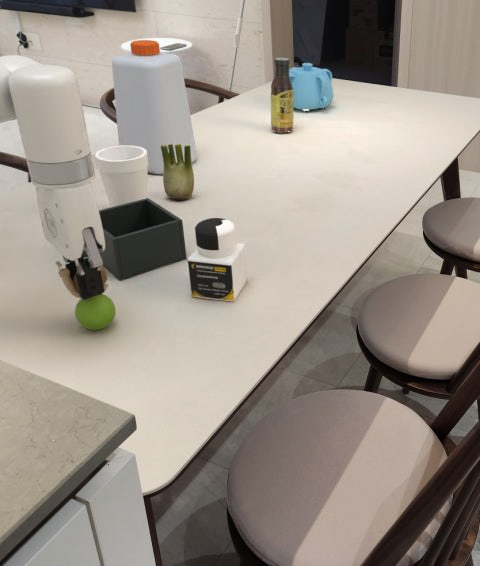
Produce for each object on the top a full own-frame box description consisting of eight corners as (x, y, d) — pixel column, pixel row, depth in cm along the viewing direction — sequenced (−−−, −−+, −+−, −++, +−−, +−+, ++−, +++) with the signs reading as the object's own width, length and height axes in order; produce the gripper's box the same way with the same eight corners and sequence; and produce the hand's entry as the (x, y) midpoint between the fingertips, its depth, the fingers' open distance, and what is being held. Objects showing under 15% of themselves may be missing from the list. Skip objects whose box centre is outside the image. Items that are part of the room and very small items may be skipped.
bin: (119, 280, 106) (112, 239, 102) (88, 253, 113) (80, 214, 109) (186, 258, 113) (182, 219, 109) (153, 234, 121) (148, 197, 117)
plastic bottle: (151, 150, 162) (136, 34, 148) (204, 158, 158) (193, 40, 144) (113, 168, 150) (92, 44, 135) (169, 178, 146) (154, 51, 132)
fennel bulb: (198, 196, 138) (192, 142, 132) (186, 204, 134) (180, 149, 128) (174, 192, 139) (168, 138, 133) (161, 200, 135) (154, 145, 129)
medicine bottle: (191, 297, 102) (183, 230, 96) (207, 276, 108) (200, 211, 102) (234, 302, 101) (229, 235, 95) (247, 280, 107) (243, 216, 101)
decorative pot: (326, 116, 196) (326, 71, 189) (276, 111, 198) (275, 66, 191) (337, 103, 210) (338, 60, 203) (290, 99, 212) (289, 56, 205)
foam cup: (98, 213, 128) (86, 151, 121) (141, 202, 133) (132, 142, 127) (120, 229, 122) (109, 165, 115) (164, 216, 128) (156, 154, 121)
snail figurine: (66, 327, 93) (49, 255, 87) (109, 312, 97) (95, 242, 91) (80, 344, 90) (63, 270, 84) (124, 328, 94) (111, 256, 88)
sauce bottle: (282, 135, 177) (280, 62, 167) (266, 131, 180) (263, 58, 170) (298, 131, 182) (297, 59, 172) (282, 126, 185) (281, 55, 175)
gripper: (8, 156, 84) (38, 277, 93) (56, 193, 74) (85, 324, 83) (66, 145, 88) (89, 261, 98) (118, 179, 78) (139, 305, 88)
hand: (87, 289), depth 90 cm, fingers closed
